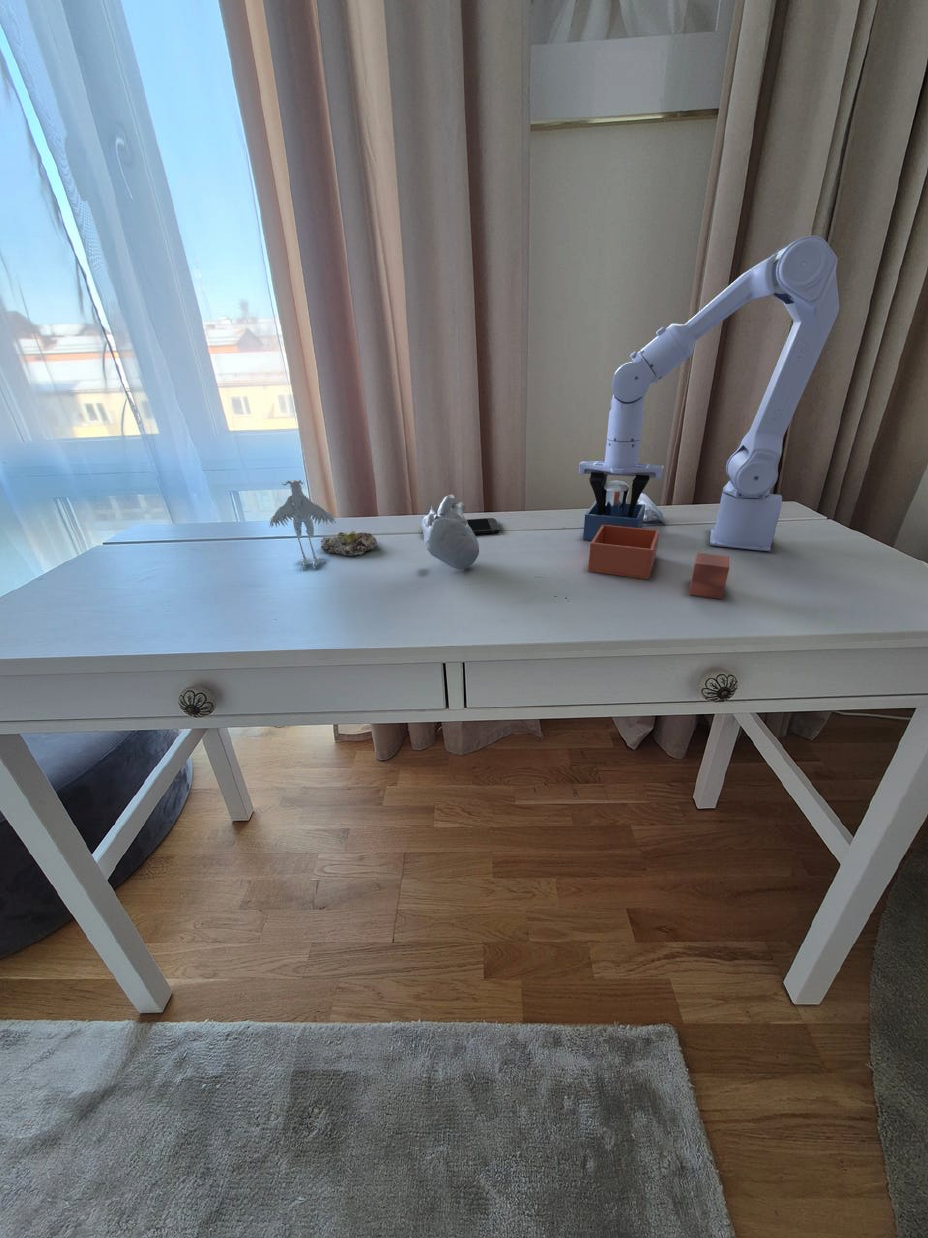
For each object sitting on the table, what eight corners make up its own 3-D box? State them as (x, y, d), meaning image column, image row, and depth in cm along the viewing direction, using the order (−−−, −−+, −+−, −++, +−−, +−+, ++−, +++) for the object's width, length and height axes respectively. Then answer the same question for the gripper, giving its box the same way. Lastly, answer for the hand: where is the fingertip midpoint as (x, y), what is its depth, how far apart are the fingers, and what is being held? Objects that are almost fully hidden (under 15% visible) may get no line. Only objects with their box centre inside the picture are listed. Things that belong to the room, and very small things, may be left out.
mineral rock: (380, 527, 98) (371, 530, 91) (382, 550, 99) (373, 554, 92) (326, 531, 99) (312, 534, 91) (329, 553, 100) (316, 558, 92)
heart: (408, 571, 84) (414, 502, 78) (429, 550, 92) (436, 486, 86) (465, 586, 82) (476, 518, 76) (482, 564, 90) (492, 499, 84)
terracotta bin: (655, 557, 86) (659, 530, 84) (648, 579, 79) (653, 550, 77) (599, 550, 90) (602, 524, 88) (587, 571, 83) (590, 543, 80)
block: (722, 586, 76) (729, 555, 73) (721, 599, 72) (729, 567, 70) (690, 582, 77) (696, 552, 75) (688, 594, 74) (695, 563, 71)
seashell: (636, 537, 105) (620, 502, 106) (660, 526, 105) (644, 492, 106) (643, 528, 98) (626, 491, 98) (670, 517, 97) (652, 480, 98)
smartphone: (500, 532, 100) (500, 528, 99) (425, 538, 99) (424, 533, 98) (495, 521, 106) (495, 517, 106) (424, 526, 105) (423, 521, 105)
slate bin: (642, 528, 99) (645, 504, 96) (635, 545, 91) (638, 519, 89) (593, 523, 102) (595, 500, 100) (582, 539, 95) (584, 514, 93)
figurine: (344, 558, 92) (330, 475, 84) (341, 567, 88) (326, 481, 81) (281, 562, 91) (261, 479, 84) (275, 571, 87) (255, 485, 80)
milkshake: (629, 533, 94) (636, 479, 89) (599, 532, 95) (605, 479, 90) (627, 525, 98) (634, 473, 93) (599, 524, 99) (604, 473, 94)
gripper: (577, 441, 88) (572, 516, 95) (665, 444, 82) (653, 524, 89) (586, 434, 93) (580, 506, 100) (669, 437, 88) (657, 512, 95)
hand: (615, 514), depth 95 cm, fingers closed on milkshake, 5 cm apart
